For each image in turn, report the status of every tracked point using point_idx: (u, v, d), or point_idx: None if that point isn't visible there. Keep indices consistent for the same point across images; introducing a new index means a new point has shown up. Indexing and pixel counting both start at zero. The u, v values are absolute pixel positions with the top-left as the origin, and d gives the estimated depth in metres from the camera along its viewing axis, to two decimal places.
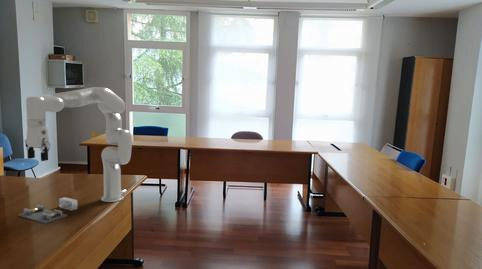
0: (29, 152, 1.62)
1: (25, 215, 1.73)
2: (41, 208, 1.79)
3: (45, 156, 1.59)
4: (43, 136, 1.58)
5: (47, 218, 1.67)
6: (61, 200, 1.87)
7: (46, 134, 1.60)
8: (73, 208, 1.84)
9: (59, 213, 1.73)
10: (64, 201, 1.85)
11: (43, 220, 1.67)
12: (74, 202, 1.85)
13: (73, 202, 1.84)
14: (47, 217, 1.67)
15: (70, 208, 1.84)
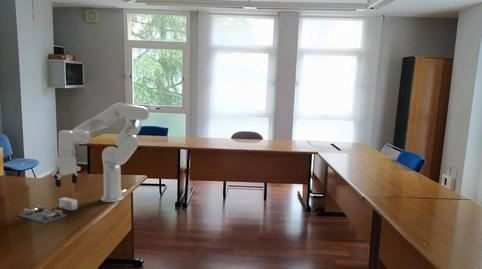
0: None
1: (25, 215, 1.73)
2: (41, 208, 1.79)
3: None
4: None
5: (47, 218, 1.67)
6: (61, 200, 1.87)
7: None
8: (73, 208, 1.84)
9: (59, 213, 1.73)
10: (64, 201, 1.85)
11: (43, 220, 1.67)
12: (74, 202, 1.85)
13: (73, 202, 1.84)
14: (47, 217, 1.67)
15: (70, 208, 1.84)
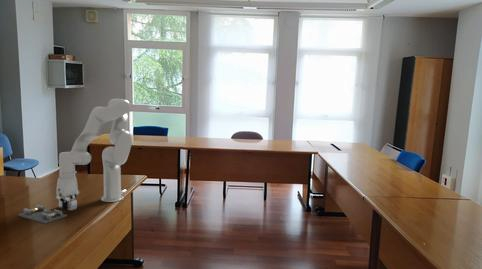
0: None
1: (25, 215, 1.73)
2: (41, 208, 1.79)
3: None
4: None
5: (47, 218, 1.67)
6: None
7: None
8: (72, 208, 1.84)
9: (59, 213, 1.73)
10: None
11: (43, 220, 1.67)
12: (74, 202, 1.85)
13: (73, 202, 1.84)
14: (47, 217, 1.67)
15: (69, 208, 1.84)
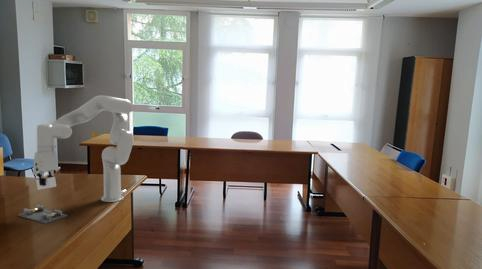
0: None
1: (25, 215, 1.73)
2: (41, 208, 1.79)
3: None
4: None
5: (47, 218, 1.67)
6: (38, 180, 1.75)
7: None
8: (51, 185, 1.72)
9: (59, 213, 1.73)
10: None
11: (43, 220, 1.67)
12: (51, 178, 1.73)
13: (50, 178, 1.72)
14: (47, 217, 1.67)
15: (48, 185, 1.71)
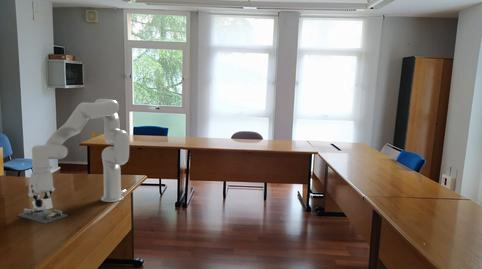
0: None
1: (25, 215, 1.73)
2: None
3: None
4: None
5: (47, 218, 1.67)
6: (34, 202, 1.73)
7: None
8: (47, 206, 1.71)
9: (59, 213, 1.73)
10: None
11: (43, 220, 1.67)
12: (48, 200, 1.71)
13: (46, 200, 1.71)
14: (47, 217, 1.67)
15: (44, 207, 1.70)
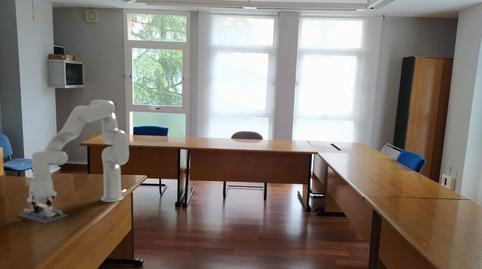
0: None
1: (25, 215, 1.73)
2: None
3: None
4: None
5: (47, 218, 1.67)
6: None
7: None
8: None
9: (59, 213, 1.73)
10: (39, 207, 1.72)
11: (43, 220, 1.67)
12: (49, 209, 1.71)
13: (48, 209, 1.71)
14: (47, 217, 1.67)
15: None
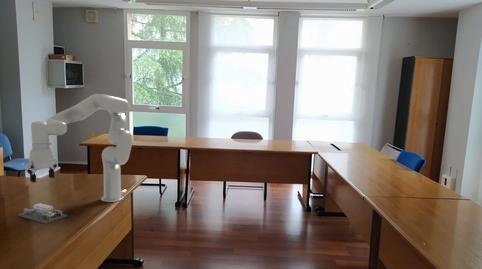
0: None
1: (25, 215, 1.73)
2: None
3: None
4: None
5: (47, 218, 1.67)
6: (36, 206, 1.73)
7: None
8: None
9: (59, 213, 1.73)
10: (39, 207, 1.72)
11: (43, 220, 1.67)
12: (49, 209, 1.71)
13: (48, 209, 1.71)
14: (47, 217, 1.67)
15: None
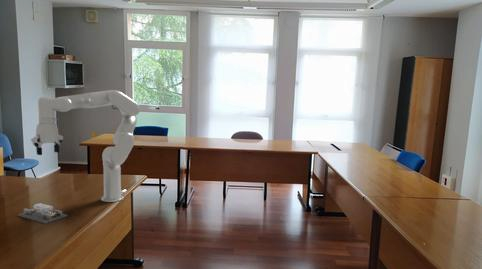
0: None
1: (25, 215, 1.73)
2: None
3: None
4: None
5: (47, 218, 1.67)
6: (36, 206, 1.73)
7: None
8: None
9: (59, 213, 1.73)
10: (39, 207, 1.72)
11: (43, 220, 1.67)
12: (49, 209, 1.71)
13: (48, 209, 1.71)
14: (47, 217, 1.67)
15: None
